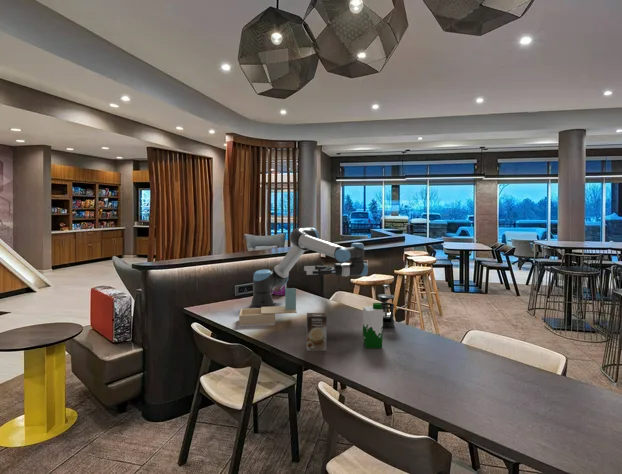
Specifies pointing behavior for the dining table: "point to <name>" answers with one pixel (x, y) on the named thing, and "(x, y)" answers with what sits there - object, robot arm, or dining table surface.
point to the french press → (388, 319)
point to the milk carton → (373, 326)
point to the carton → (255, 317)
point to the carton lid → (289, 304)
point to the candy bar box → (278, 290)
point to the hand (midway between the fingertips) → (305, 270)
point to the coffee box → (316, 331)
